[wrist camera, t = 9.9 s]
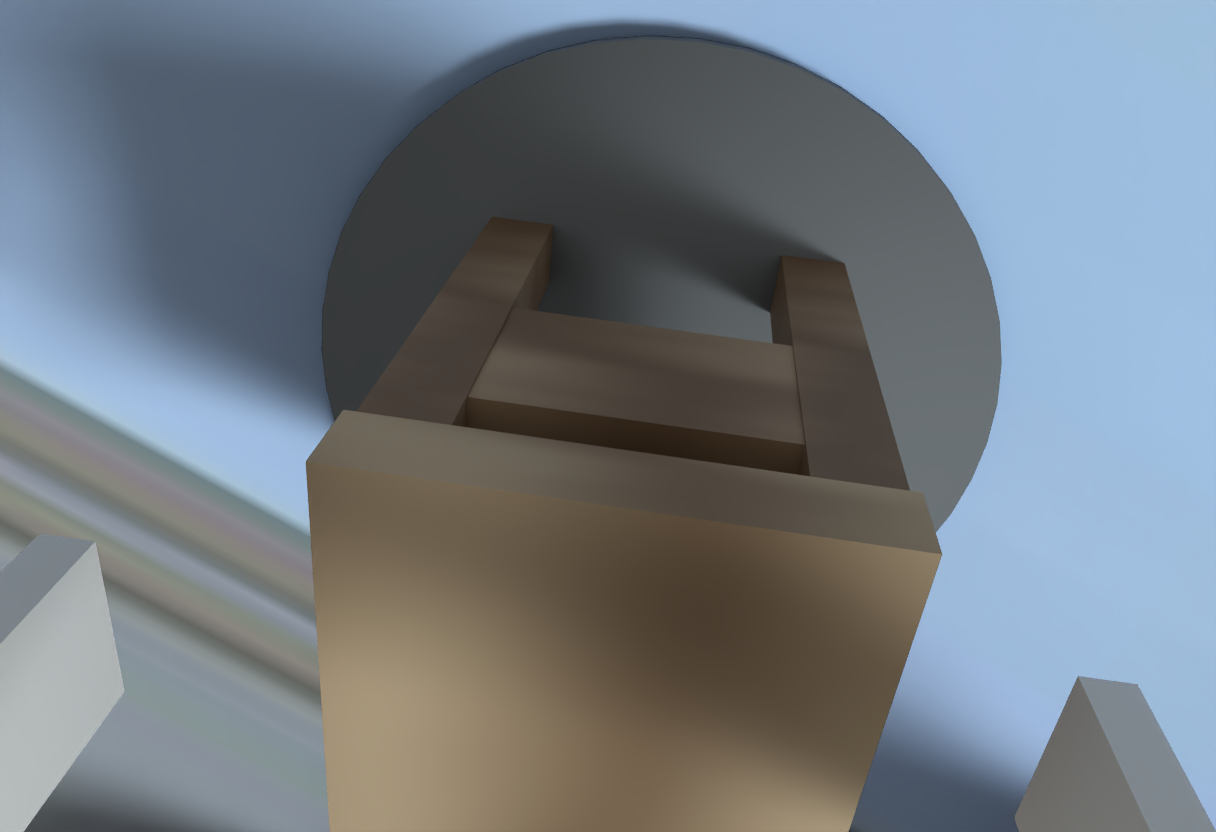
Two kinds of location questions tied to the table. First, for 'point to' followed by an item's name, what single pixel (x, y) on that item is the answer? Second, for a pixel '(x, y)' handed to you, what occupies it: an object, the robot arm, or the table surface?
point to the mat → (685, 224)
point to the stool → (612, 566)
